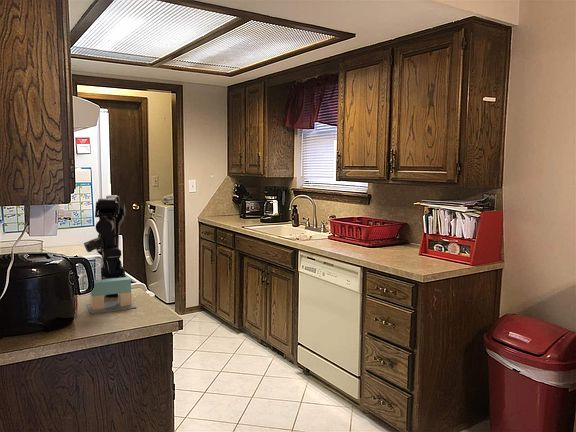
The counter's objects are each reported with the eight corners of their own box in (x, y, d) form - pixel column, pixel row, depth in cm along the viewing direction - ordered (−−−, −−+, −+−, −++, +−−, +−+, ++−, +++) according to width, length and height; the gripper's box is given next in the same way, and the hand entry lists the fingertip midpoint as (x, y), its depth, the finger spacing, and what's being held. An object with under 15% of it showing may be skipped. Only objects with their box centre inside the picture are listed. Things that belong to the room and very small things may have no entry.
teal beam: (90, 293, 183) (90, 280, 183) (128, 289, 190) (128, 276, 190) (92, 296, 180) (91, 283, 179) (131, 291, 187) (130, 279, 186)
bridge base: (86, 305, 187) (86, 291, 186) (129, 300, 195) (129, 286, 194) (91, 314, 177) (91, 299, 176) (136, 308, 185) (136, 294, 184)
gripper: (81, 229, 190) (82, 268, 192) (88, 235, 174) (90, 278, 176) (111, 227, 196) (112, 266, 197) (121, 234, 180) (122, 275, 181)
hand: (108, 271), depth 188 cm, fingers open, 9 cm apart
